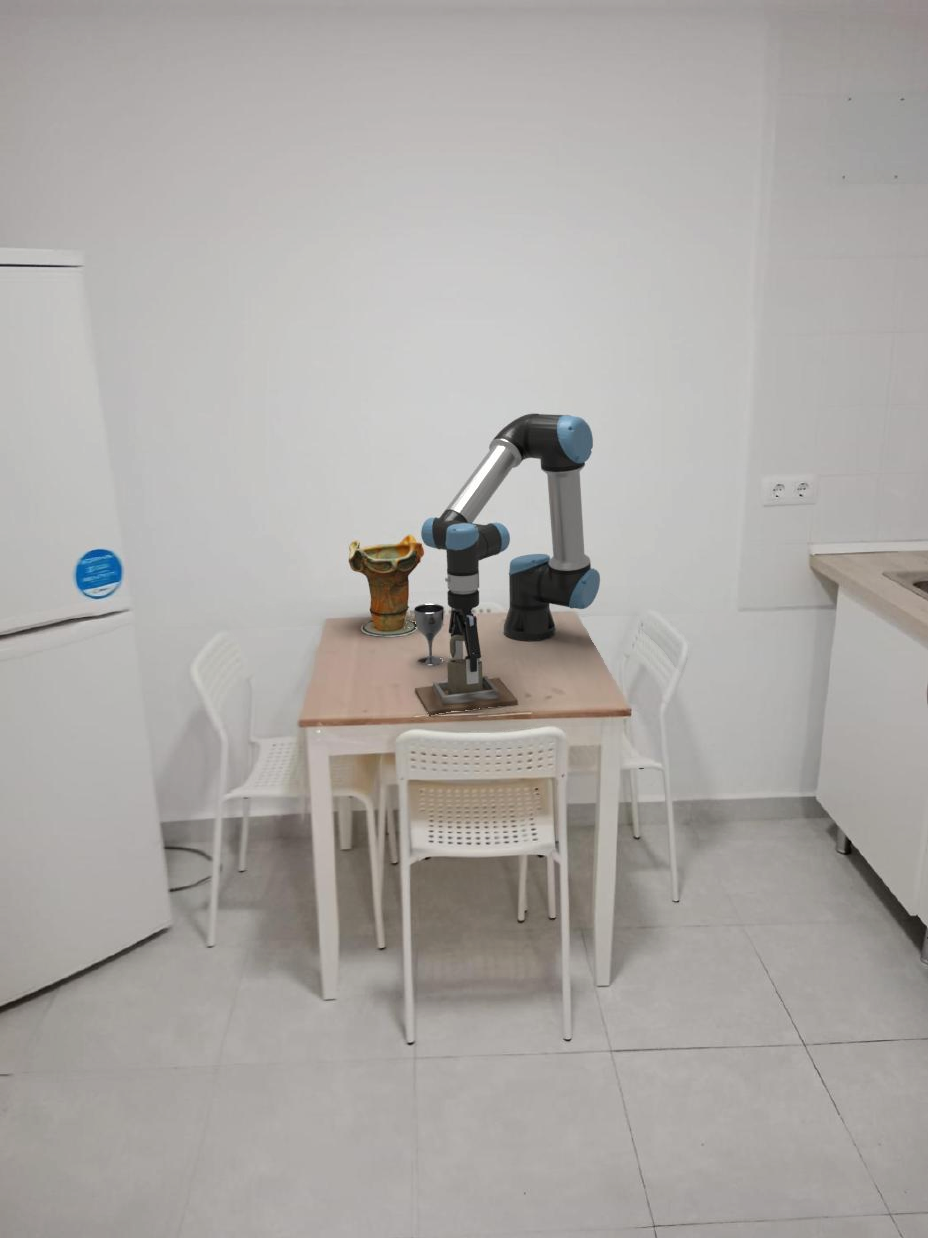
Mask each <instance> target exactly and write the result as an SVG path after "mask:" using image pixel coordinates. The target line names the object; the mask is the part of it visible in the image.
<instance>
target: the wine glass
mask: <svg viewBox="0 0 928 1238" xmlns="http://www.w3.org/2000/svg"><path fill="white" fill-rule="evenodd" d="M413 612H414V621H416V625H417V628H418V629H417V630H418V631H419V632H420V634H422V636H423V637H424V638H425V639H426V640H427V644H428V655H425V656H423V657H422V656H421V657H419V658H418V659H419V660H418V659H417V662H419V663H418V664H419V665H424V666H437V665H440V663H441V662H442V659H440V658H443V657H441V656H437V655H433V642H434V639H435V637H436V636H437V634H439V632H440V631H441V630H442V627H443V625H444V619H445V606H443V605H442V604H438V603H437V604H436V603H425V604H424V603H423V604H419V605H417V606H415V607H414V611H413ZM442 663H443V662H442ZM442 663H441V664H442ZM436 664H437V665H436Z"/></svg>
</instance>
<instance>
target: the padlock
mask: <svg viewBox="0 0 928 1238" xmlns="http://www.w3.org/2000/svg"><path fill="white" fill-rule="evenodd" d="M456 641H463V642H465V641H464V636H463V635H454V636H452V637H451V636H450V639H449V653H450V655H451V656H450V657H451V658H450V659H448V660H447V669H446V670H447V681H448V694H452V695H454V694H462V693H470V692H478V691H482V676H483V661H480V659H481V658H478V680H479V683H474V684H467V671H466V660H465V658H463V659H452V658H454V656H455V653H456Z"/></svg>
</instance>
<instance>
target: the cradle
mask: <svg viewBox="0 0 928 1238" xmlns="http://www.w3.org/2000/svg"><path fill="white" fill-rule="evenodd" d="M414 692H415V695H416V696H417V698H418V700H419V701H421V702H420V703H421V705H422V704H423V705H422V707H423V706H424V707H423V708H424V710H425V709H426V710H425V711H427V712H428V713H427V712H426V713H427V715H428V714H429V715H428V717H432V716H431V715H435V714H439V713H446V712H451V711H465V710H473V709H479V708H480V710H483V709H482V708H488V707H495V708H499V707H498V706H503V707H509V706H510V705H511V706H516V705H517V706H518V701H519V700H518V699H517V697H516V696H515V695H514V693H513V692H512V691H511V690H510V689H509V688H508V687H507V685H506V684H505V682H503V680H502V679H500V677H493V678H489V676H488V675H482V691H478V692H470V693H462V694H454V695H452V694H448V680H442V681H434V682H432V685H430V686H421V687H415V688H414ZM507 705H509V706H507ZM488 709H489V708H488ZM473 711H474V710H473ZM465 712H466V711H465ZM435 716H436V715H435Z"/></svg>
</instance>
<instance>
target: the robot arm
mask: <svg viewBox="0 0 928 1238" xmlns="http://www.w3.org/2000/svg"><path fill="white" fill-rule="evenodd" d="M593 438H594V437H593V432H592V430H591V427H590V425H589V424H588V422H587V421H586V420H585V419H583V418H582V417H580V416H573V415H570V414H569V415H568V414H545V413H544V414H543V413H527V414H524V415H521V416H520V417H518V418H516V419H514V420H513V421H511V422H510V423H508V424H507V425H506V426H504V427H503V428H502V429H501V430H499V432H498V433H497V434H496V436H495V437H494V438H493V439H492V440H491V441H490V444H489V447H488V448H489V451H488V452H487V454H486V455H485V456H484V458H483V459H482V460H481V461H480V463H479V464H478V466H477V467H476V468H475V469H474V470H473V472H472V474H471V475H470V476H469V477H468V479H467V480H466V482H464V484H463V486H462V487H461V488H460V489H459V491H458V493H456V495H455V496H454V497H453V499H452V501H450V503H449V505H448V506H447V507H446V508H445V510H444V511H443V512H442V514H441V515H440V516H439V517H429V518H427V519H426V520H425V521H424V522H423V524H422V526H421V531H420V535H421V540H422V542H423V543H424V545H425V546H426V547H429V548H433V549H437V550H439V551H440V550H443V551H446V575H447V577H445V578H444V581H445V582H446V583H447V584H446V585H447V589H448V590H447V605H448V607H450V609H451V611H450V616H449V617H450V618H449V619H450V620H449V627H448V633H449V634H450V638H451V637H452V636H454V635H463V636H464V641H456V653H455V656H454V658H452V657H451V659H465V660H466V671H467V684H474V683H479V680H478V658H480V659H481V658H482V654H481V652H482V651H481V647H480V645H481V644H480V639H479V631H478V625H477V624H478V621H477V619H478V618H477V616H475V615H474V613H473V611H472V610H473V609H474V608H477V607H478V606H479V604H480V590H479V588H480V571H479V569H480V568H479V567H480V565H479V564H480V563H479V561H482V560H485V559H487V558H490V557H492V556H497V555H499V554H500V553H502V552H504V551H507V548H508V547H509V546H510V542H511V537H510V532H509V530H508V528H507V527H506V526H505V525H504V524H502V523H500V522H489V523H487V524H479V523H474V522H475V520H476V519H477V517H478V516H479V515H480V514H481V512H482V511H483V509H484V508H485V506H487V504H488V502H489V501H490V500H491V498H492V497H493V495H494V494H495V493H496V491H497V490H498V488H499V487H500V486H501V484H502V483H503V482H504V480H505V479H506V477H507V476H508V475H509V473H510V472H511V471H512V470H513V469H514V468H517V467H519V466H520V465H521V464H522V462H523V461H525V460H527V459H537V460H540V468H541V471H543V472H544V473H545V474H546V475H547V487H548V489H547V490H548V505H549V514H550V515H549V516H550V517H549V519H550V530H551V531H550V532H551V543H552V555H553V556H552V557H550V555H548V554H547V553H532V554H525V555H524V554H523V555H520V556H517V557H515V558H513V559H512V560H511V561H510V562H509V569H508V570H509V572H508V575H509V576H508V577H509V580H508V582H509V608H508V610H507V614H506V617H505V620H504V624H503V634H504V636H506V637H507V638H510V639H513V640H516V641H517V640H518V641H525V642H526V641H527V642H528V641H529V642H532V641H533V642H534V641H536V642H537V641H543V640H546V639H549V638H552V637H554V636H555V634H556V623H555V621H554V617H553V614H552V611H551V609H550V608H551V607H550V605H557V606H561V607H566V608H569V609H578V610H579V609H580V610H584V609H587V608H588V607H590V606H591V605H592V603H594V601H595V599H596V597H597V594H598V592H599V590H600V585H601V577H600V572H599V571H598V570H597V569H596V568H594V567H593V568H592V566H591V565H592V564H591V559H590V556H588V555H586V554H585V544H584V543H585V541H584V524H583V523H584V522H583V507H582V492H581V491H582V489H581V488H582V487H581V486H582V485H581V474H580V473H581V470H583V469H584V467H586V462H587V461H588V460H589V459H590V458H591V455H592V453H593V452H592V450H593V446H594V439H593ZM464 644H465V650H466V651H465V652H466V655H465V656H464Z"/></svg>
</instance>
